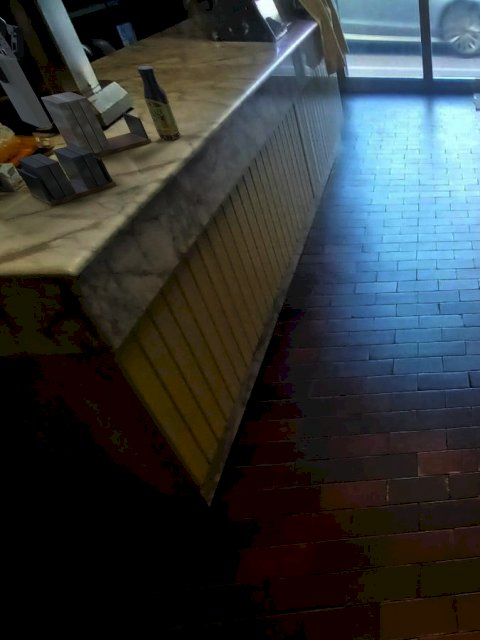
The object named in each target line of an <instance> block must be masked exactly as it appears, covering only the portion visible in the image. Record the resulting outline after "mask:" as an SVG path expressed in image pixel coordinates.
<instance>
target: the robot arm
mask: <svg viewBox="0 0 480 640" xmlns="http://www.w3.org/2000/svg"><path fill="white" fill-rule="evenodd" d="M7 33H8V35H10V36H11V45H9V43H8V42H7V41H6V35H7ZM24 42H25V41H24V29H23V28H22V27H20V26H17V25H11V24H8V23H6V21H5V20H4V19H2V17H0V52H1V54H3V55H6V56H9V57H12V58H15V59H16V61H17V62H18V64H19V66H20V68H21V70H22V72H23V73H24V75H25V72H24V70H23V69H22V67H21V65H20V63H19V59H21V58H24V57H25V43H24ZM25 76H26V75H25ZM0 81H2V82H3V83H9V81H8V79H7V77H6V75H5V74H4V72H3V70H2V68H1V67H0Z"/></svg>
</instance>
